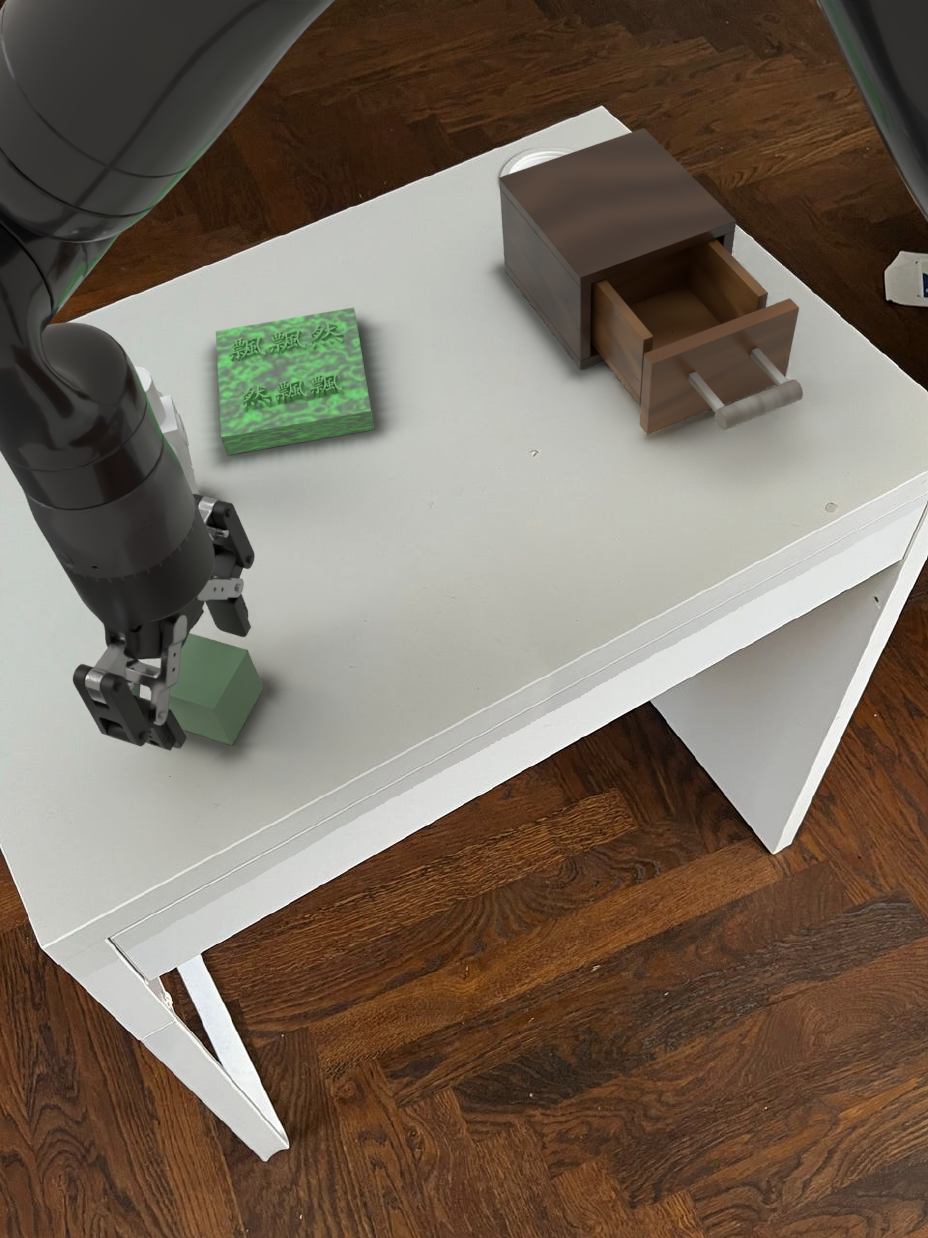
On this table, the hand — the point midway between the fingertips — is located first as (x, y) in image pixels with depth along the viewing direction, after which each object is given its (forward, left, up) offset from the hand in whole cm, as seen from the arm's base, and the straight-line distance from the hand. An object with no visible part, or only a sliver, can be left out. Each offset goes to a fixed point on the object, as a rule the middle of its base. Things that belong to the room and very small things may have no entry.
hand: (203, 683), depth 72 cm
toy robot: (+11, -15, -3) cm, 19 cm away
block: (0, 0, -3) cm, 3 cm away
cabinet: (-13, -46, -3) cm, 47 cm away
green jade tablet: (+8, -28, -3) cm, 29 cm away
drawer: (-22, -37, -2) cm, 43 cm away
